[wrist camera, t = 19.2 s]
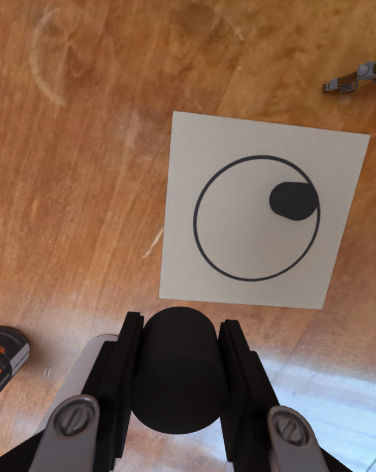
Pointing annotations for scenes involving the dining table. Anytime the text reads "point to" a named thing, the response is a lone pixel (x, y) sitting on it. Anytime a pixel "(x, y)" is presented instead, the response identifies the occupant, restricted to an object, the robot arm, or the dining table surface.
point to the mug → (78, 376)
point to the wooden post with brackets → (352, 79)
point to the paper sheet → (254, 210)
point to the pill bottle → (11, 354)
